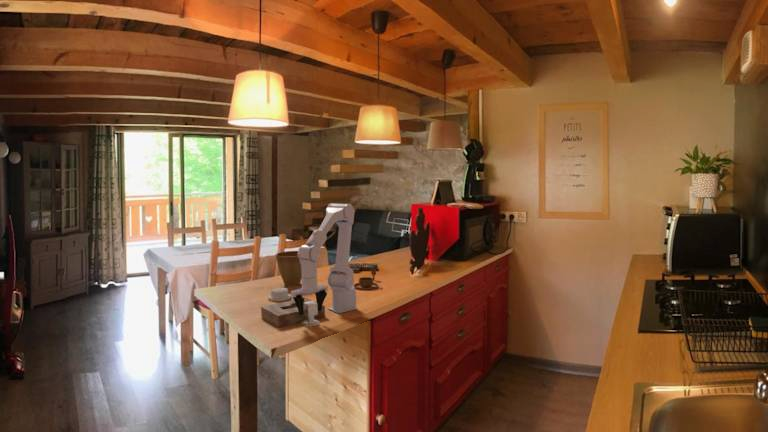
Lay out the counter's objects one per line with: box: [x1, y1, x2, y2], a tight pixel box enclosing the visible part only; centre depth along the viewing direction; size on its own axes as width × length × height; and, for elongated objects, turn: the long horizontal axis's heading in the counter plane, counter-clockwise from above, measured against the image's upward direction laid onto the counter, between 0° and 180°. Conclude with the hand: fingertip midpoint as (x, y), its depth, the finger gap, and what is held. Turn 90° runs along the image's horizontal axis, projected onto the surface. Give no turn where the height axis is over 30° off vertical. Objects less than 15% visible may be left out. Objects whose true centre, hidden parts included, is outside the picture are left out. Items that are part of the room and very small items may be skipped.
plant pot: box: [275, 250, 302, 287], centre depth 241 cm, size 15×15×16 cm
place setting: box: [353, 269, 384, 291], centre depth 238 cm, size 18×20×6 cm
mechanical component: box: [267, 287, 292, 302], centre depth 216 cm, size 10×4×10 cm
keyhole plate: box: [260, 297, 326, 328], centre depth 189 cm, size 20×15×4 cm
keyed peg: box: [300, 300, 321, 328], centre depth 180 cm, size 5×5×8 cm
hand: (310, 312), depth 180 cm, fingers open, 7 cm apart
